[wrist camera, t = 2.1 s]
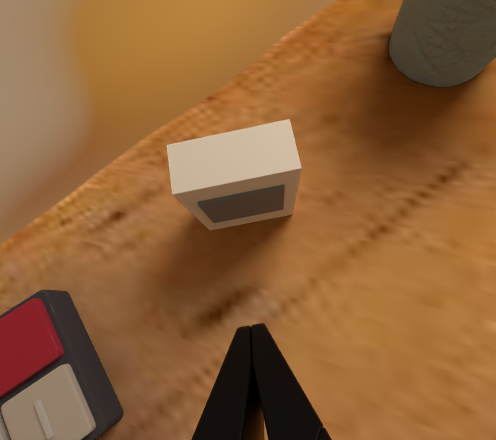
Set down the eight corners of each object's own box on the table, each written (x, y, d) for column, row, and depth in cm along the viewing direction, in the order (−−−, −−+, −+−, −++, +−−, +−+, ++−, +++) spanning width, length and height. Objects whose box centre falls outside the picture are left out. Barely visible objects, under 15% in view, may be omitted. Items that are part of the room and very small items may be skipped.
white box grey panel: (293, 217, 24) (302, 172, 15) (210, 233, 24) (172, 198, 15) (285, 181, 25) (289, 119, 16) (205, 197, 25) (166, 145, 16)
